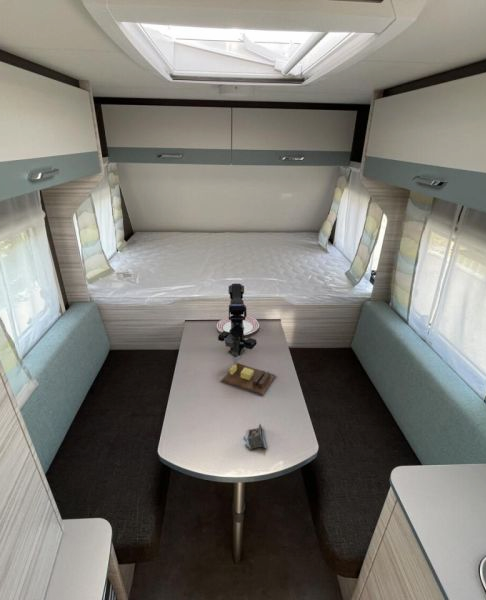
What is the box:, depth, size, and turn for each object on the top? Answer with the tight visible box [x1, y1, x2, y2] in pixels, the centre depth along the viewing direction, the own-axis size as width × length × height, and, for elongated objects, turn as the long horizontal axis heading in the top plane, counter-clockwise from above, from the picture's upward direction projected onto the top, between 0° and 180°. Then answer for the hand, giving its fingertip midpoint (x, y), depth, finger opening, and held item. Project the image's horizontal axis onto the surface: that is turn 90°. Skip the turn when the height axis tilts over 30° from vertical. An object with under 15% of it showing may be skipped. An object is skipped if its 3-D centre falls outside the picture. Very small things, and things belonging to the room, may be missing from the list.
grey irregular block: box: [244, 423, 267, 450], centre depth 127 cm, size 10×7×12 cm
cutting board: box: [221, 362, 276, 396], centre depth 163 cm, size 22×16×4 cm
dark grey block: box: [230, 346, 242, 366], centre depth 162 cm, size 3×8×8 cm, turn 152°
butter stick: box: [241, 368, 254, 380], centre depth 163 cm, size 5×4×3 cm
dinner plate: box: [216, 315, 260, 336], centre depth 212 cm, size 27×27×3 cm
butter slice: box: [229, 364, 237, 375], centre depth 166 cm, size 2×4×3 cm, turn 152°
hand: (237, 354), depth 162 cm, fingers closed on dark grey block, 3 cm apart
